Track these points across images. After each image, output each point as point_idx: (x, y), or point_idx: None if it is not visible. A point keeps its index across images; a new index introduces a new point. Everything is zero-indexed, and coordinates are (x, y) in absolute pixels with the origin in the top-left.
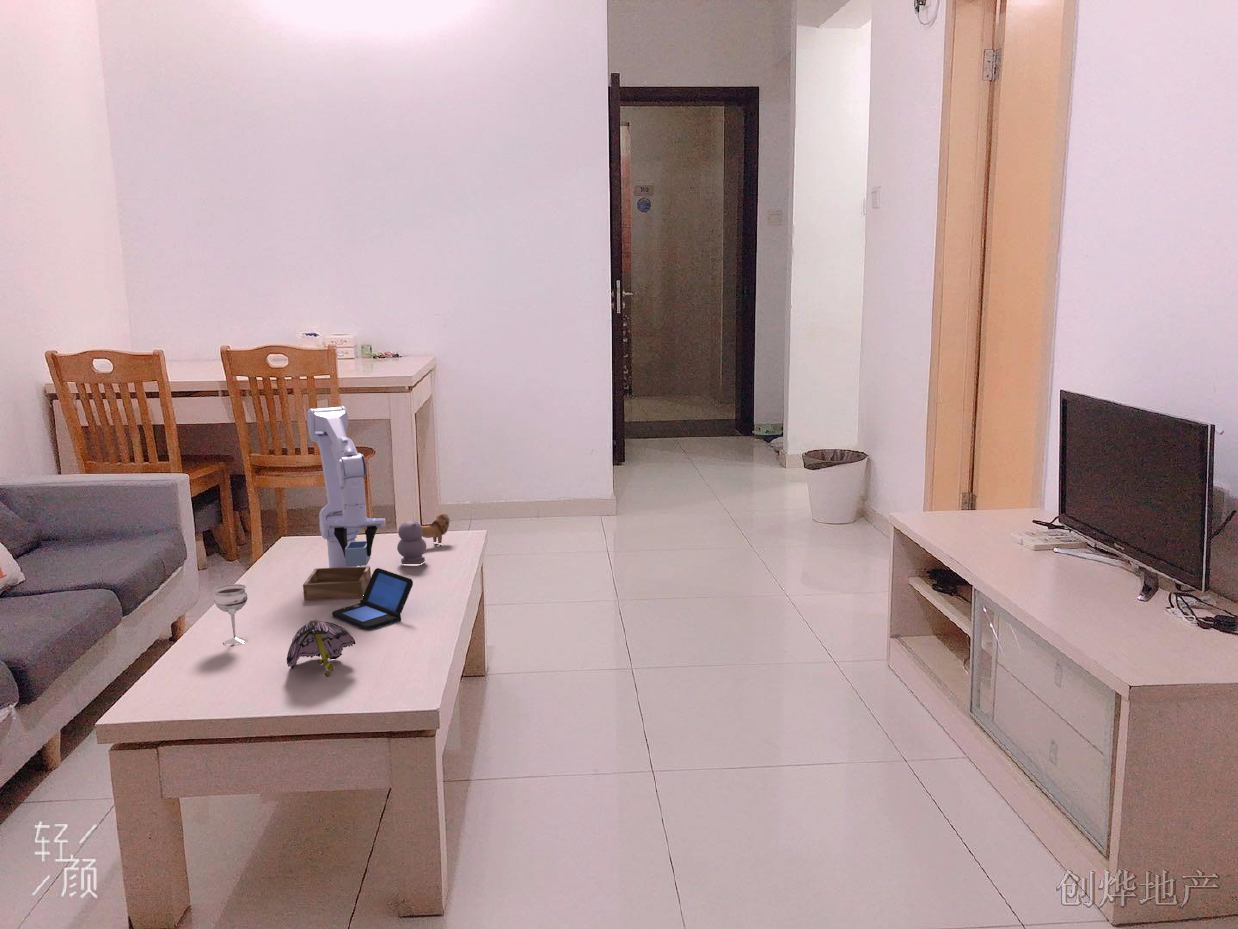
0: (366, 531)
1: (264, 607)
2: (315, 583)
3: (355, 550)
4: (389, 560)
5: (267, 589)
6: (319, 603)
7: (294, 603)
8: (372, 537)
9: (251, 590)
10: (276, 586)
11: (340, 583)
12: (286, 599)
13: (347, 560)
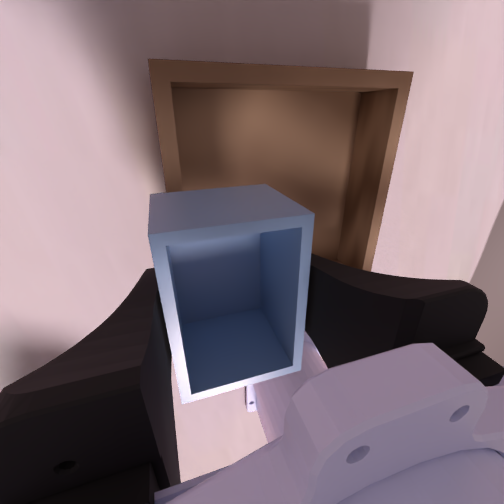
0: (117, 381)
1: (477, 22)
2: (368, 86)
3: (231, 217)
4: (181, 443)
5: (445, 216)
6: (314, 25)
7: (394, 51)
8: (70, 351)
9: (476, 210)
10: (425, 239)
11: (260, 65)
12: (413, 109)
13: (268, 193)
